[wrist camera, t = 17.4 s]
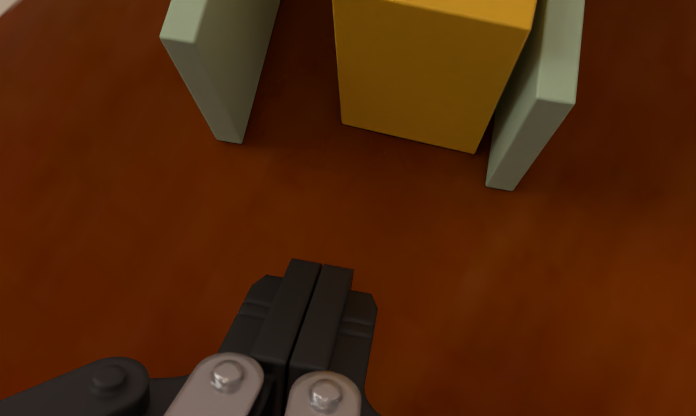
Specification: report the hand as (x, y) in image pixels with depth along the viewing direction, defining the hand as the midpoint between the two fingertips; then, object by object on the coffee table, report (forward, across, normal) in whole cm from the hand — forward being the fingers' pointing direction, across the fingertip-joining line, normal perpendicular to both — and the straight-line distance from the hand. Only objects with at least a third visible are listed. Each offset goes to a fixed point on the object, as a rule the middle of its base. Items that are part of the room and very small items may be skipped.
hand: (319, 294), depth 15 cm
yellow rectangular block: (+10, -2, -4) cm, 10 cm away
